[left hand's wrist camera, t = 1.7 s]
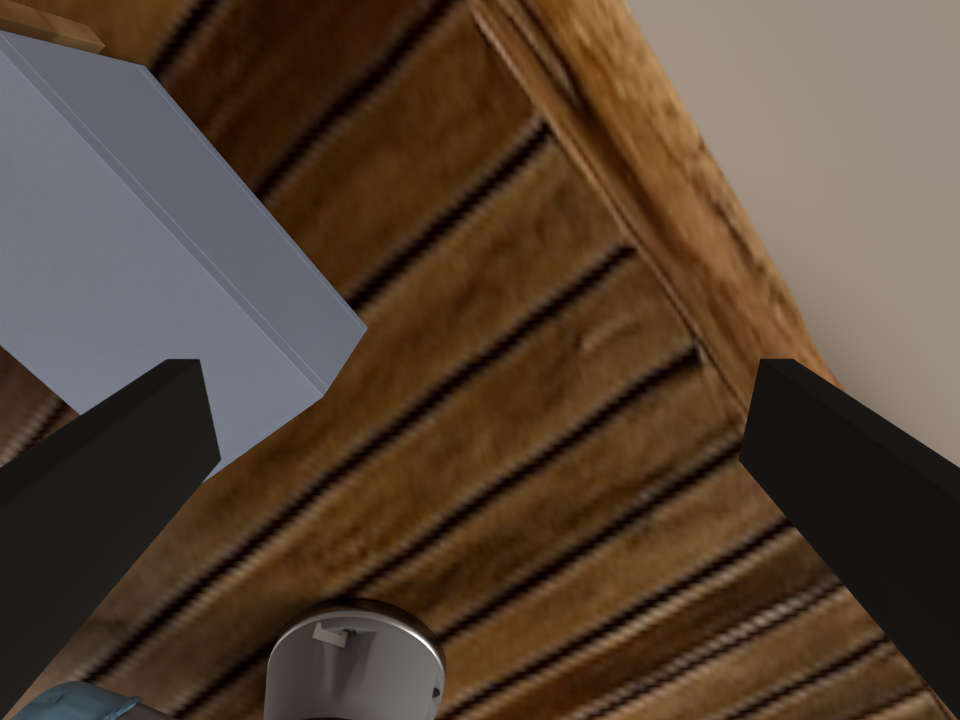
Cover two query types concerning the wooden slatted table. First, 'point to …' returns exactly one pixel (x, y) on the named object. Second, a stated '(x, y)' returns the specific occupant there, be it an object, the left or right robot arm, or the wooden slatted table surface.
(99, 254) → the cabinet
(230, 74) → the wooden slatted table surface
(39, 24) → the drawer
